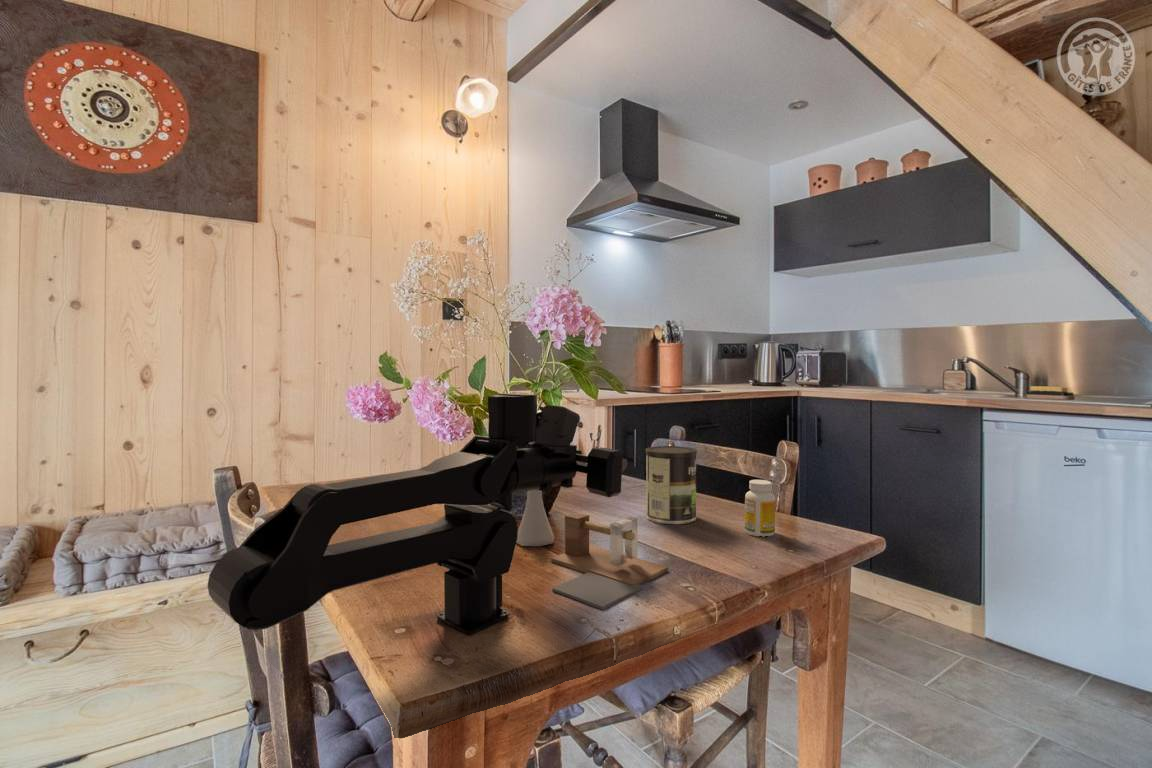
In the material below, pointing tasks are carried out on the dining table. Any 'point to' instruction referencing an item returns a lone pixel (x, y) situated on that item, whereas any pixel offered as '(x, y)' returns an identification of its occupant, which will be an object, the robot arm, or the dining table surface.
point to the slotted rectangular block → (617, 541)
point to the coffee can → (671, 484)
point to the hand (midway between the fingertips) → (602, 458)
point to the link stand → (601, 554)
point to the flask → (534, 522)
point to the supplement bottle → (760, 509)
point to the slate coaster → (596, 590)
